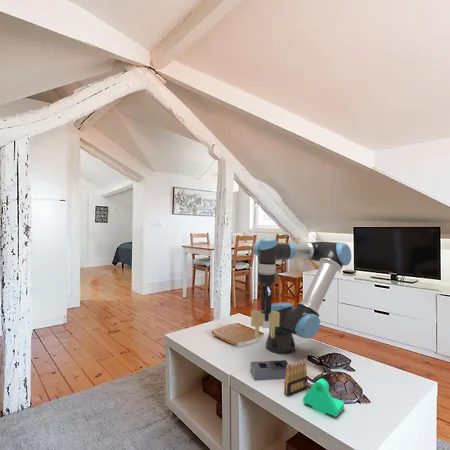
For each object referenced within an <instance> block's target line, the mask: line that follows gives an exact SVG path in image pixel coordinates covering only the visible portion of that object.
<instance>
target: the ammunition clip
mask: <svg viewBox="0 0 450 450" xmlns="http://www.w3.org/2000/svg"><path fill="white" fill-rule="evenodd" d="M289 365H290V371H289ZM306 381H307V382H308V376H307V361H306V358H305V357H304V358H303V359H302V358H300V361H299V360H297V361H296V360H294V361H293V362H292V361H290V363H288V364H287V367H286V379H285V380H284V388H283V389H284V391H283V394H284V395H285V396H286V398H287V397H290V396H294V395H295V394H298V393H301V392H303V391H306V390H309V388H307V387H306V386H305V385H304V384H303V382H305V383H306Z"/></svg>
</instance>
